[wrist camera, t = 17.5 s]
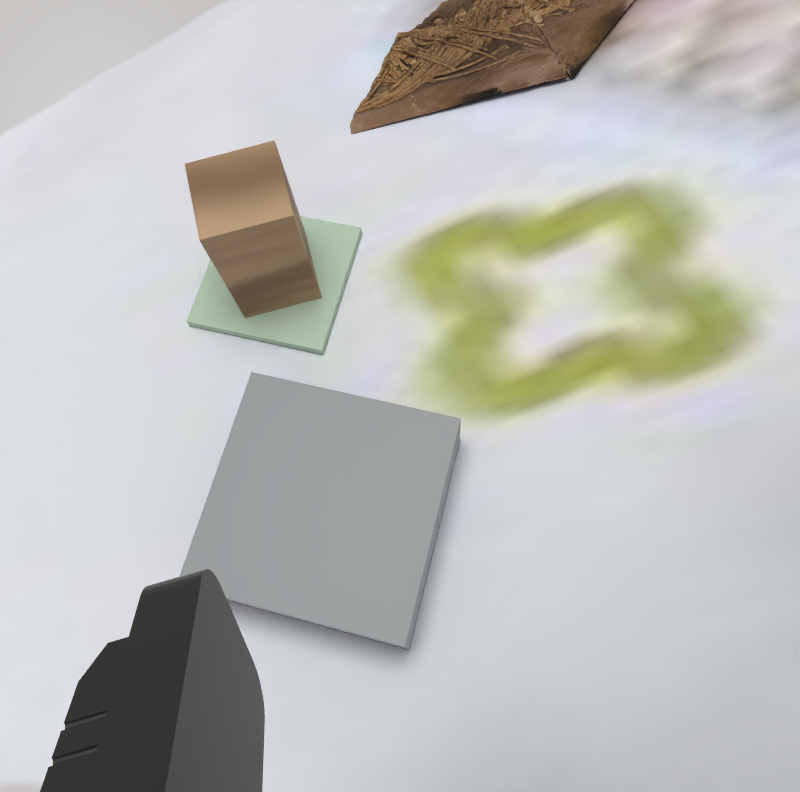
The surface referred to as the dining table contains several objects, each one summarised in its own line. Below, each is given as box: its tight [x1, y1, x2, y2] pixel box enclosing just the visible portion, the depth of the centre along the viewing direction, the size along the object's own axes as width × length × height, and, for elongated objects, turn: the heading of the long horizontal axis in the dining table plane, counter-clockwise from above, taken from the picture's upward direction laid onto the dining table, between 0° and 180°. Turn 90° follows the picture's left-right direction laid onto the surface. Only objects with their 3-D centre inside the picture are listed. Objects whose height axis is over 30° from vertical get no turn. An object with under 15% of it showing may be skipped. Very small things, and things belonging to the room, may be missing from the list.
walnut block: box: [185, 141, 322, 318], centre depth 43 cm, size 5×5×9 cm
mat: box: [187, 217, 362, 354], centre depth 48 cm, size 9×9×1 cm
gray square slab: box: [180, 372, 460, 649], centre depth 41 cm, size 12×12×4 cm
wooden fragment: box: [350, 0, 634, 134], centre depth 54 cm, size 26×11×1 cm, turn 118°
